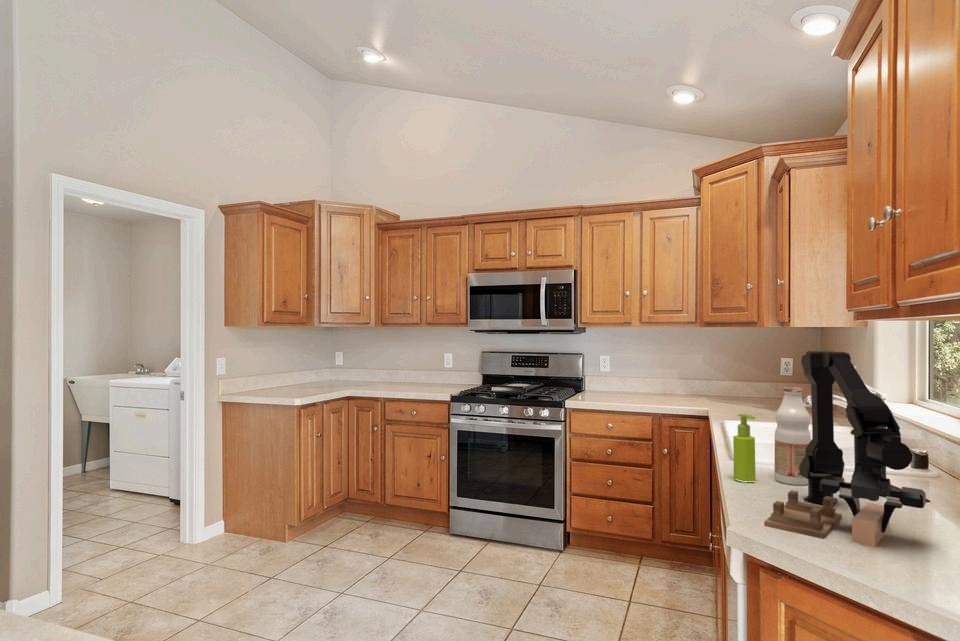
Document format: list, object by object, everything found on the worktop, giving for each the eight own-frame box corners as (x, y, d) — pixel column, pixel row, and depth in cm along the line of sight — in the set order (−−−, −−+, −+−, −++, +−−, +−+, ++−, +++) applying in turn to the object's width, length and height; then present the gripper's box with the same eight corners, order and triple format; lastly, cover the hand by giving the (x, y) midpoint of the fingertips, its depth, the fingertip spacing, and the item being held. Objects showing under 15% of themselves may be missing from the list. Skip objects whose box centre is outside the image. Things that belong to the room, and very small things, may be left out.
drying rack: (786, 507, 141) (786, 487, 141) (842, 518, 133) (841, 497, 133) (764, 525, 128) (764, 503, 128) (824, 538, 120) (823, 515, 120)
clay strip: (868, 524, 129) (868, 502, 129) (889, 528, 126) (889, 506, 126) (852, 542, 118) (851, 518, 118) (874, 547, 115) (874, 523, 115)
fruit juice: (771, 481, 165) (771, 387, 165) (778, 475, 172) (778, 385, 172) (807, 488, 158) (808, 390, 159) (813, 480, 166) (813, 387, 166)
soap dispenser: (745, 484, 162) (744, 416, 162) (729, 478, 169) (728, 413, 169) (762, 483, 163) (761, 415, 164) (746, 477, 170) (745, 412, 171)
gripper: (812, 458, 123) (814, 529, 123) (919, 472, 110) (921, 551, 110) (824, 450, 131) (825, 516, 131) (925, 463, 118) (927, 536, 118)
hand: (871, 529), depth 122 cm, fingers closed on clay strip, 4 cm apart
